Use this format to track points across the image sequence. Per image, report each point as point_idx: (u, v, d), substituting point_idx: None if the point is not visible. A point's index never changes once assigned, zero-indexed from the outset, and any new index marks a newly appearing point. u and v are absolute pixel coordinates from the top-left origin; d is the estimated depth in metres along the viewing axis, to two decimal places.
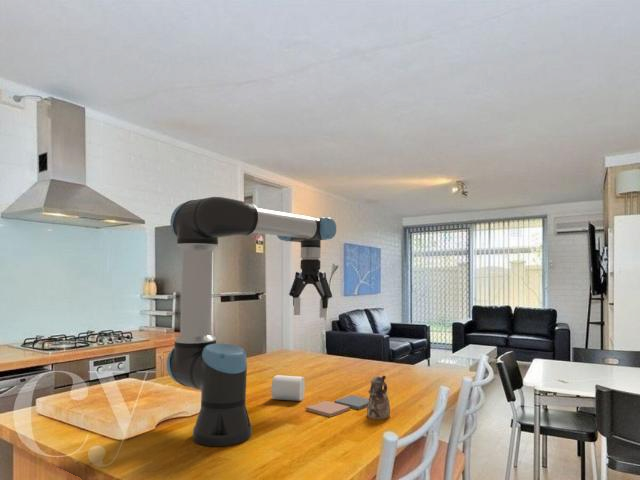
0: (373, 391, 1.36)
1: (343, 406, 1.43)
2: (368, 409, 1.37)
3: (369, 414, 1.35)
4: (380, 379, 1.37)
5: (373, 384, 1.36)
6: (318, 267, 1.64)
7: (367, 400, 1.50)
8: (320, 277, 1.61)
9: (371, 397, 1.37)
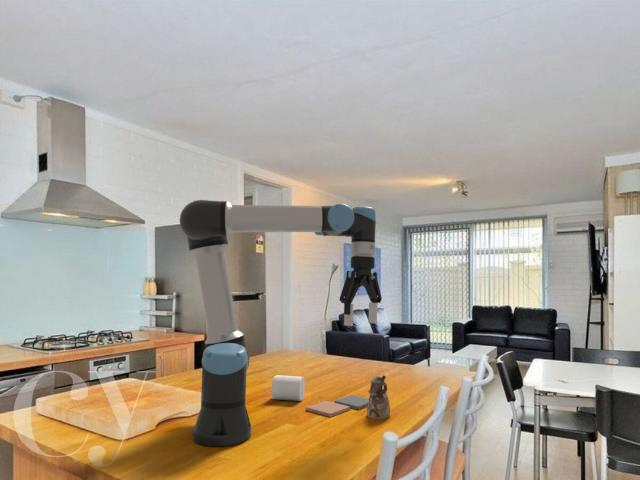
0: (373, 391, 1.36)
1: (343, 406, 1.43)
2: (368, 409, 1.37)
3: (369, 414, 1.35)
4: (380, 379, 1.37)
5: (373, 384, 1.36)
6: (357, 265, 1.36)
7: (367, 400, 1.50)
8: None
9: (371, 397, 1.37)
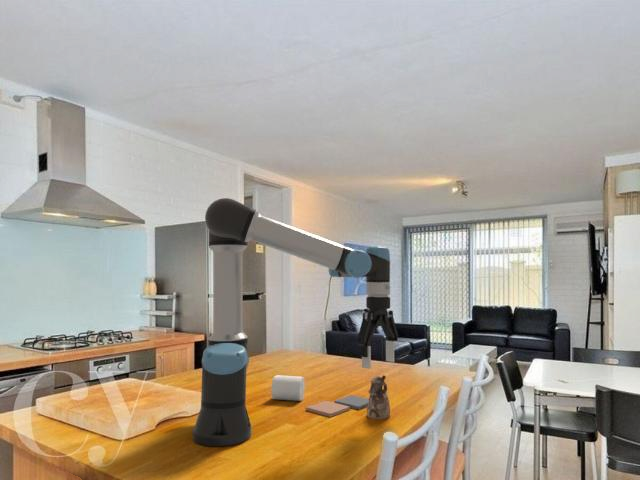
0: (373, 391, 1.36)
1: (343, 406, 1.43)
2: (368, 409, 1.37)
3: (369, 414, 1.35)
4: (380, 379, 1.37)
5: (373, 384, 1.36)
6: (373, 306, 1.36)
7: (367, 400, 1.50)
8: None
9: (371, 397, 1.37)
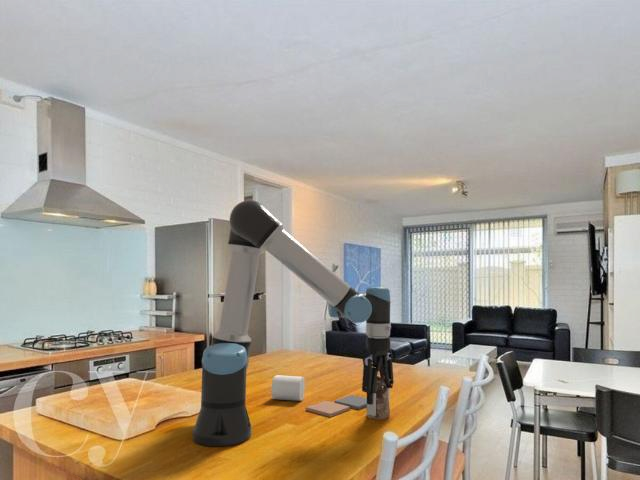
0: None
1: (343, 406, 1.43)
2: None
3: None
4: (379, 379, 1.36)
5: None
6: (373, 348, 1.35)
7: None
8: None
9: None
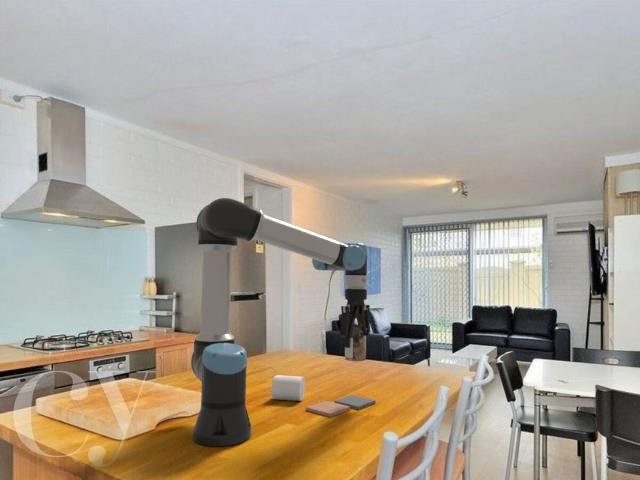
0: None
1: (343, 406, 1.43)
2: None
3: (346, 357, 1.49)
4: (357, 326, 1.50)
5: None
6: (350, 297, 1.49)
7: (367, 400, 1.50)
8: None
9: None
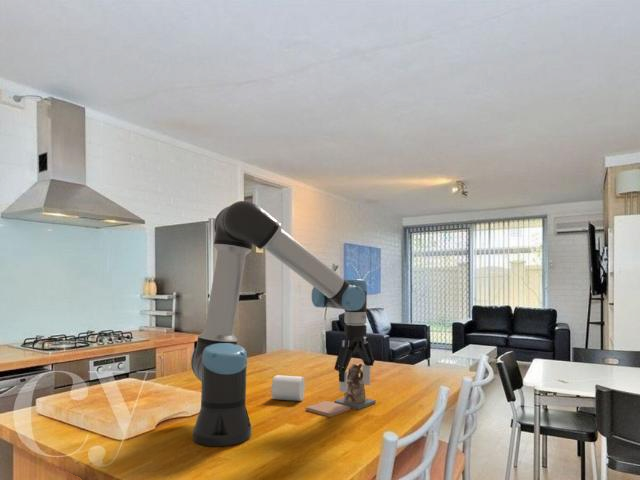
0: (349, 378, 1.48)
1: (343, 406, 1.43)
2: (345, 394, 1.49)
3: (346, 399, 1.48)
4: (356, 367, 1.49)
5: (350, 371, 1.49)
6: (350, 334, 1.49)
7: (367, 400, 1.50)
8: None
9: (348, 383, 1.49)
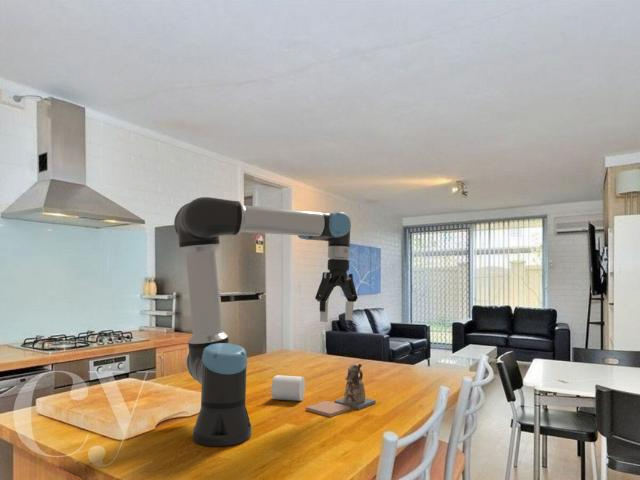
0: (349, 378, 1.48)
1: (343, 406, 1.43)
2: (345, 394, 1.49)
3: (346, 399, 1.48)
4: (356, 367, 1.49)
5: (349, 372, 1.49)
6: (332, 267, 1.51)
7: (367, 400, 1.50)
8: None
9: (348, 383, 1.49)
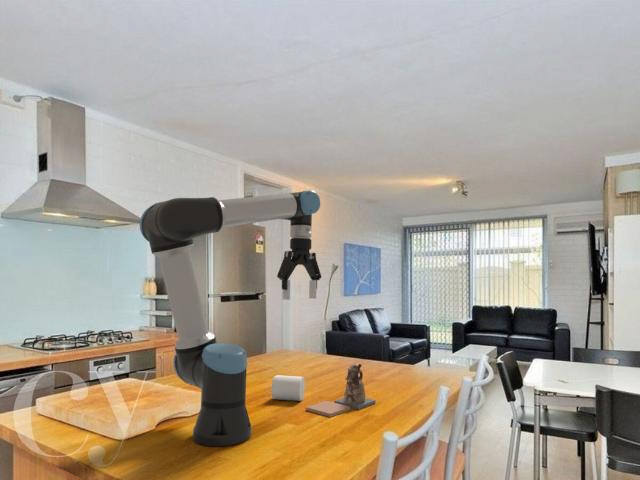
0: (349, 378, 1.48)
1: (343, 406, 1.43)
2: (345, 394, 1.49)
3: (346, 399, 1.48)
4: (356, 367, 1.49)
5: (349, 372, 1.49)
6: (294, 246, 1.53)
7: (367, 400, 1.50)
8: None
9: (348, 383, 1.49)
